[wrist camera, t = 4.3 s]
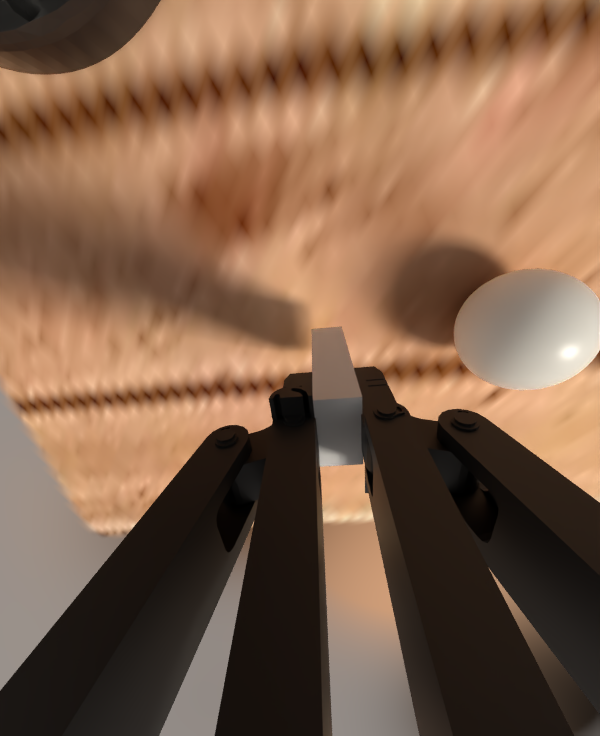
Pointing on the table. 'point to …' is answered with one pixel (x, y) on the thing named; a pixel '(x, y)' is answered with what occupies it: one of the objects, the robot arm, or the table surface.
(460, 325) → the white ball
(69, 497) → the table surface
